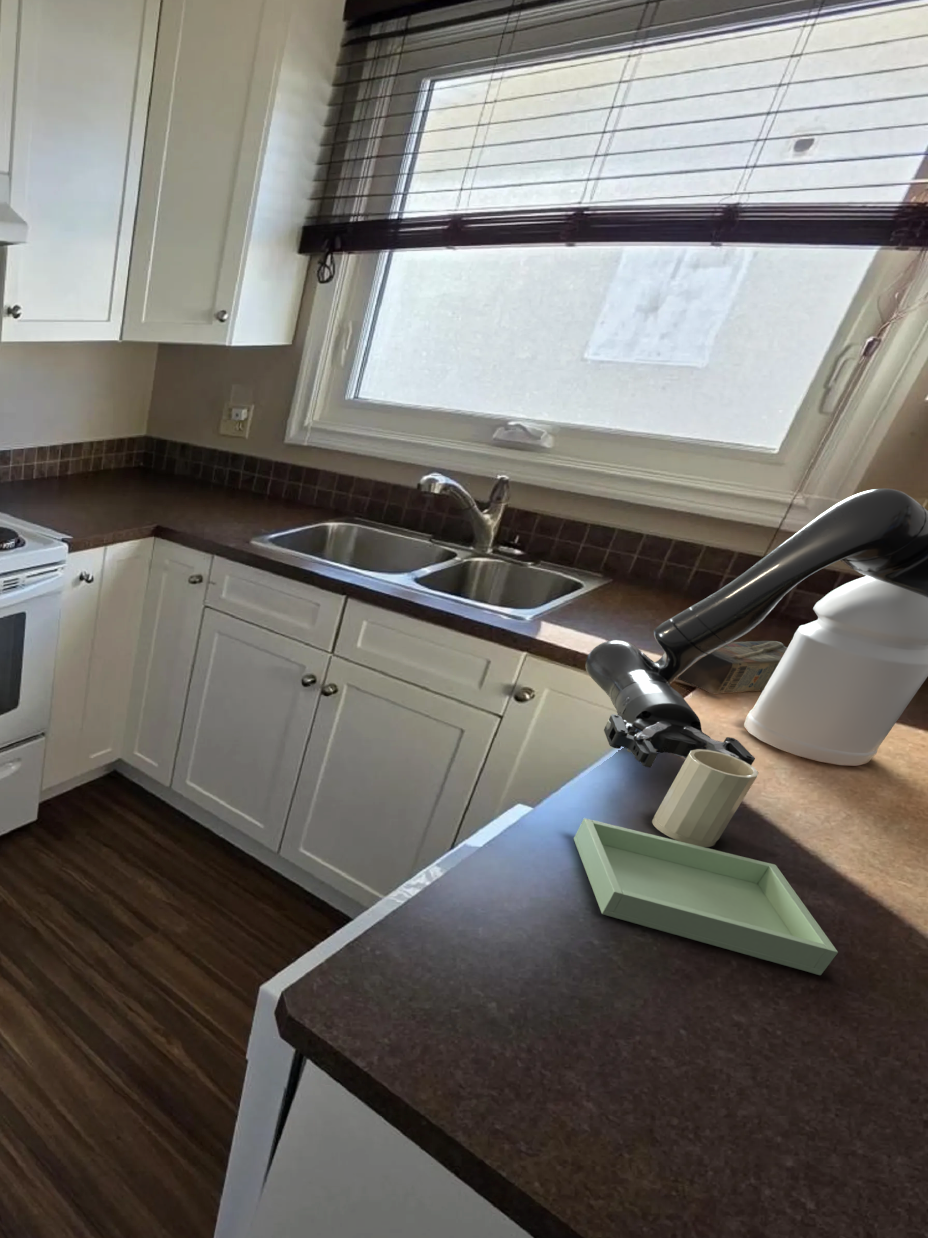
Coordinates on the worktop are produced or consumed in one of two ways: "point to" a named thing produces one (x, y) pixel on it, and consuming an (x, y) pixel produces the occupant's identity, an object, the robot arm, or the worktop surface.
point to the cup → (704, 797)
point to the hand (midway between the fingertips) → (692, 769)
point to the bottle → (846, 674)
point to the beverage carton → (736, 667)
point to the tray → (701, 895)
